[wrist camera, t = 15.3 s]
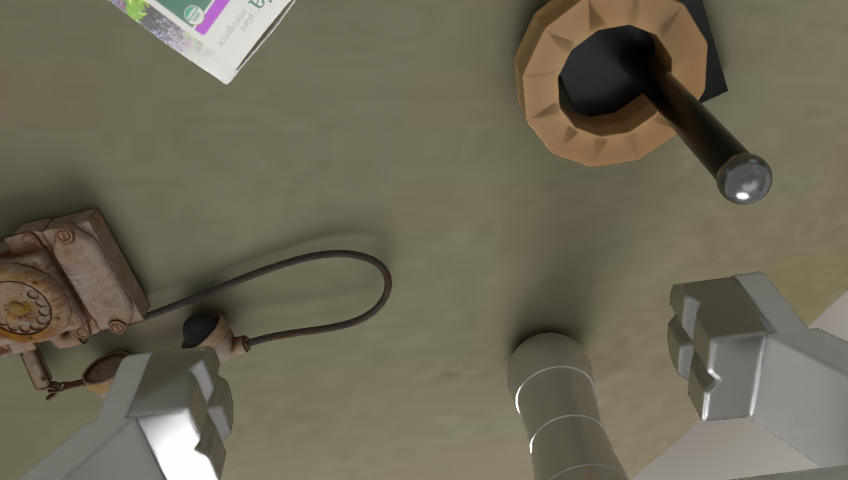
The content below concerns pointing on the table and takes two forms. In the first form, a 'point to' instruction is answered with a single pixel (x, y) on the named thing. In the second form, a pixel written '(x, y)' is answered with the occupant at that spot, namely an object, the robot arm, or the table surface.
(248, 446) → the table surface
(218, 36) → the syrup box
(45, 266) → the telephone
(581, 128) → the ring
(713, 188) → the table surface
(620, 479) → the plastic bottle
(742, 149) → the stand
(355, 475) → the table surface
